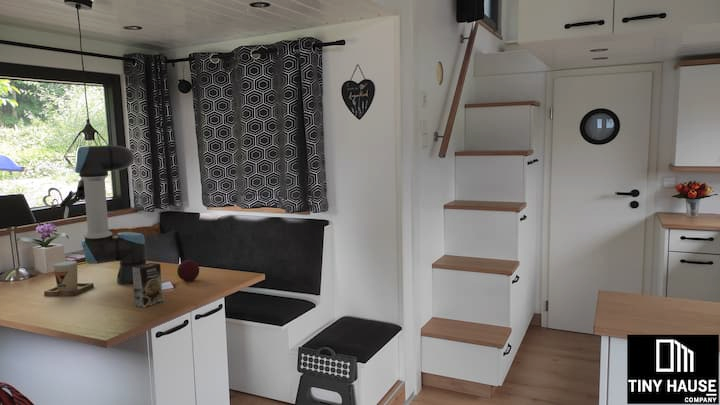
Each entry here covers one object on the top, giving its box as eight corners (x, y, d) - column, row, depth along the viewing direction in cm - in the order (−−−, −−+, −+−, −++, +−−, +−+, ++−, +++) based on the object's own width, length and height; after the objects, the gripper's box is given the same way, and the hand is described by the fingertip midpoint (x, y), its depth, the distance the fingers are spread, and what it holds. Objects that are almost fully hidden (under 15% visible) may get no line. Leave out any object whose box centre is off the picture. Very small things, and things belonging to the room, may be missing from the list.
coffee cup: (51, 291, 237) (48, 264, 236) (69, 285, 246) (67, 260, 244) (66, 293, 234) (63, 266, 232) (84, 287, 242) (82, 261, 241)
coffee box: (144, 308, 214) (141, 268, 212) (134, 305, 217) (131, 266, 215) (163, 301, 221) (160, 263, 219) (153, 299, 225) (150, 262, 223)
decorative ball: (198, 282, 249) (197, 262, 248) (176, 284, 248) (174, 263, 247) (201, 277, 259) (200, 257, 258) (179, 278, 258) (178, 258, 257)
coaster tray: (93, 287, 246) (93, 283, 246) (73, 296, 232) (73, 291, 232) (65, 287, 248) (65, 282, 248) (44, 295, 234) (44, 291, 234)
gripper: (114, 188, 280) (109, 220, 268) (61, 190, 275) (54, 223, 262) (110, 179, 275) (106, 211, 262) (57, 180, 269) (50, 214, 256)
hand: (80, 217), depth 262 cm, fingers open, 13 cm apart
